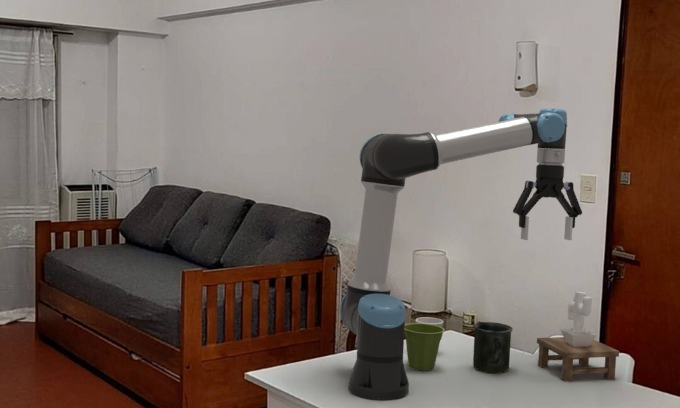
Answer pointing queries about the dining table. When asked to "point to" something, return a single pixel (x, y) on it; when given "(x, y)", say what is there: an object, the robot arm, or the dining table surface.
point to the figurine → (579, 321)
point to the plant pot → (422, 344)
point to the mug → (492, 347)
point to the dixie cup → (430, 321)
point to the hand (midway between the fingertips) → (546, 239)
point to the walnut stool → (577, 357)
